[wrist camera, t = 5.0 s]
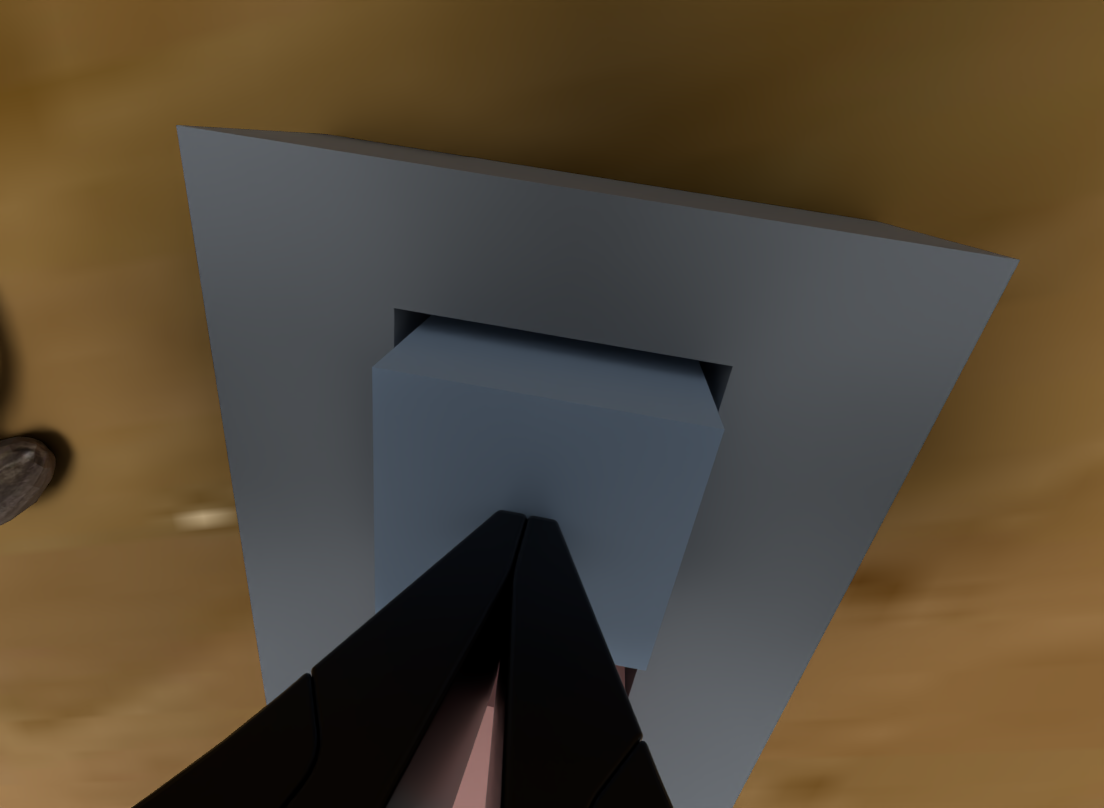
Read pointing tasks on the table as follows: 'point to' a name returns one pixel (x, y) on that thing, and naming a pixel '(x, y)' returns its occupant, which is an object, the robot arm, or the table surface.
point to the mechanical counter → (23, 474)
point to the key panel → (590, 315)
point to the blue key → (543, 460)
